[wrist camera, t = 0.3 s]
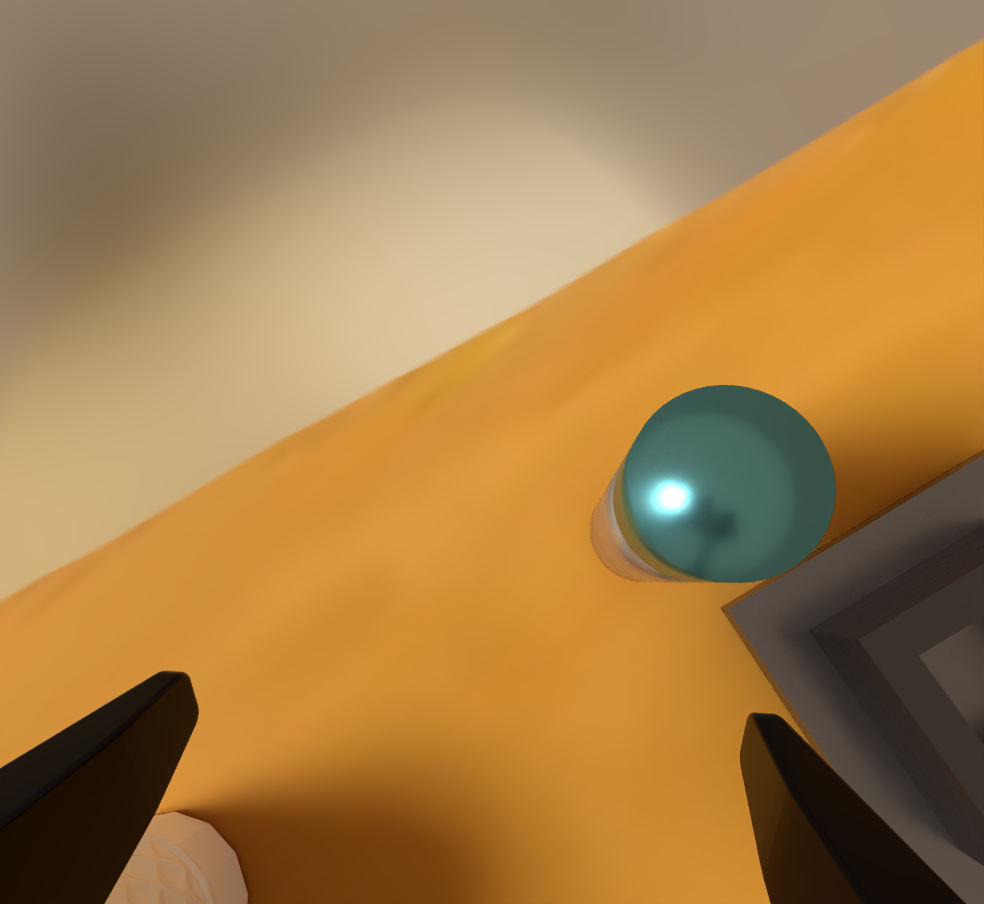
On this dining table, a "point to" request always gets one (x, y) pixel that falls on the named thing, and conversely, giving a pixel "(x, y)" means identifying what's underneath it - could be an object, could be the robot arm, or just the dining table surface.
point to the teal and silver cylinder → (716, 492)
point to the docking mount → (892, 665)
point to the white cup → (181, 866)
